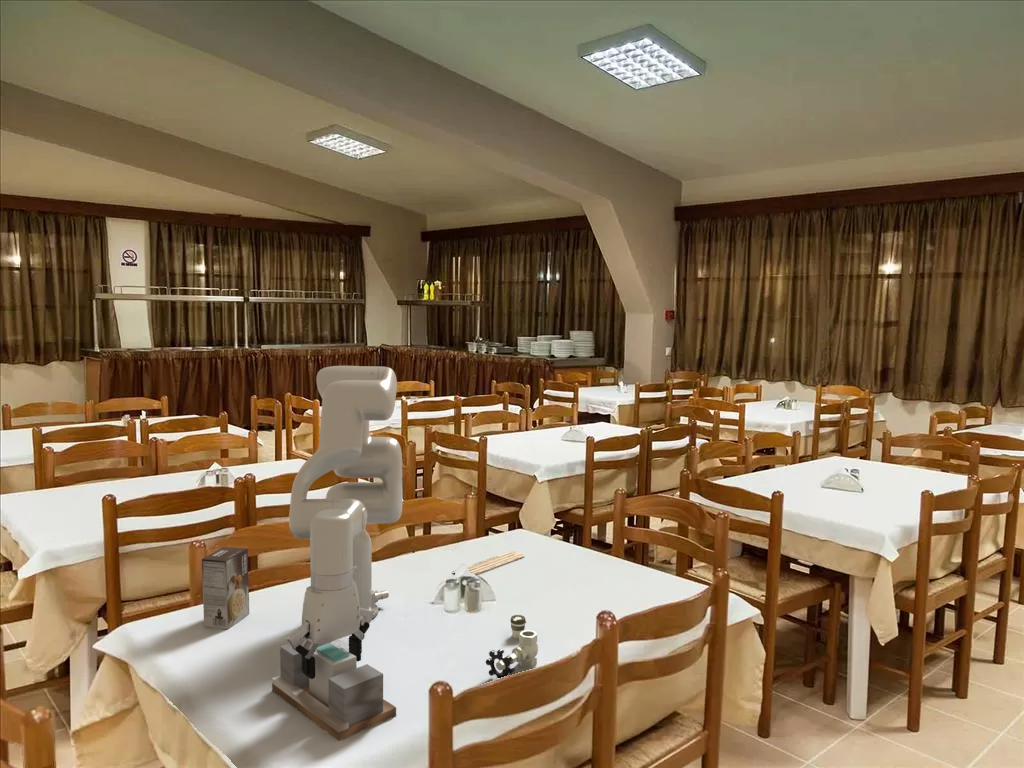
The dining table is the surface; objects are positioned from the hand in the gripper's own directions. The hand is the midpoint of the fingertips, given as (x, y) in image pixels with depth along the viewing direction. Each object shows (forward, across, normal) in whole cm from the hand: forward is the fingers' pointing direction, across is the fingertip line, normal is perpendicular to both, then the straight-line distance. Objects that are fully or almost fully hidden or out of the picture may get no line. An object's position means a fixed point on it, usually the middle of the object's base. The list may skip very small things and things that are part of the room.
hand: (332, 667), depth 144 cm
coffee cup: (+8, -45, +3) cm, 46 cm away
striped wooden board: (+9, -72, -35) cm, 81 cm away
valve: (+7, -34, +15) cm, 37 cm away
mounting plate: (+7, 0, 0) cm, 7 cm away
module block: (+5, 0, 0) cm, 5 cm away
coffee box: (+7, -2, -48) cm, 48 cm away
